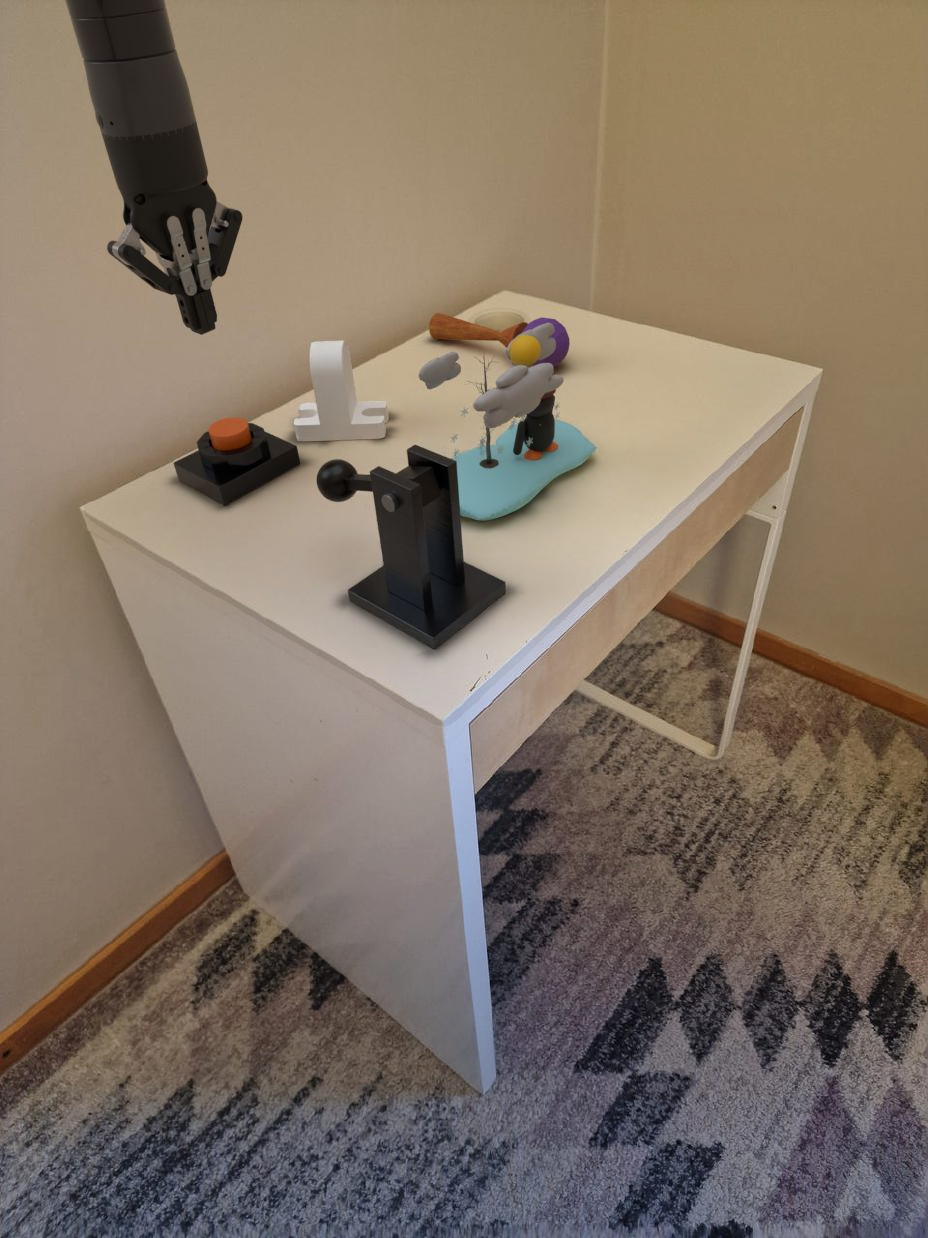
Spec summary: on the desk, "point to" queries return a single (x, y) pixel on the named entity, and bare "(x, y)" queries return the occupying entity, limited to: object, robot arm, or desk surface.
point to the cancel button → (230, 433)
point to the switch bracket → (423, 557)
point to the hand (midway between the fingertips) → (203, 330)
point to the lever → (369, 481)
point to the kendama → (498, 334)
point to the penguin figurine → (514, 430)
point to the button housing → (236, 465)
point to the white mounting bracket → (337, 400)
